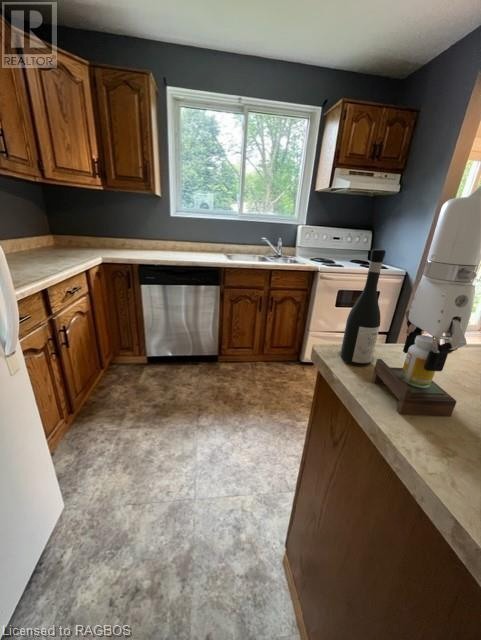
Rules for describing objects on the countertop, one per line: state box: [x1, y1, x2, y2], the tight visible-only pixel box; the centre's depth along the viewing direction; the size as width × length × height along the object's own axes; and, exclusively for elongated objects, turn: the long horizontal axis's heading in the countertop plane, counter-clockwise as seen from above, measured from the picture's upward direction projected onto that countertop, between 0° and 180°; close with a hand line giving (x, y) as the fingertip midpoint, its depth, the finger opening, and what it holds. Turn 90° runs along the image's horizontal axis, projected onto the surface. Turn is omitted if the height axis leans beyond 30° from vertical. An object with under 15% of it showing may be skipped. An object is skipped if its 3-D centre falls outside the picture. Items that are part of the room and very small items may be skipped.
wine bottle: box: [340, 248, 387, 367], centre depth 70 cm, size 8×8×30 cm
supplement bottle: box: [401, 334, 436, 388], centre depth 55 cm, size 5×5×10 cm
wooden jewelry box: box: [370, 358, 458, 418], centre depth 57 cm, size 10×12×7 cm
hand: (421, 360), depth 55 cm, fingers open, 6 cm apart
